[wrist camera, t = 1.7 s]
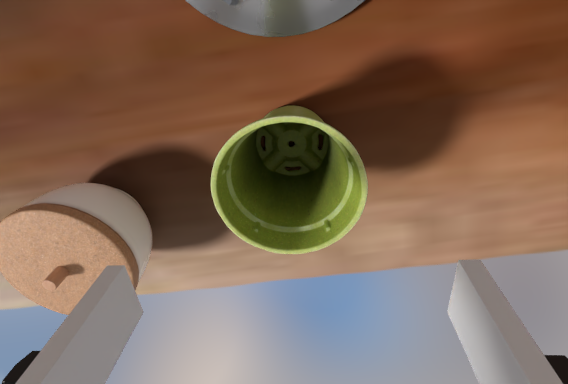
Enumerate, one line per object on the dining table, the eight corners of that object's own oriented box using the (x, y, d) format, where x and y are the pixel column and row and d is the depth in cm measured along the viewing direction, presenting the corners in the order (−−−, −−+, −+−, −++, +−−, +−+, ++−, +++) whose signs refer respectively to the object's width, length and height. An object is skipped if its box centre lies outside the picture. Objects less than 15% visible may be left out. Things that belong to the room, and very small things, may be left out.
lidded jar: (179, 187, 30) (133, 255, 22) (158, 270, 36) (114, 349, 27) (59, 145, 29) (-38, 201, 21) (54, 237, 34) (-24, 311, 26)
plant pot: (351, 78, 25) (371, 110, 17) (350, 189, 30) (365, 253, 22) (228, 87, 26) (195, 121, 18) (244, 193, 30) (224, 257, 23)
